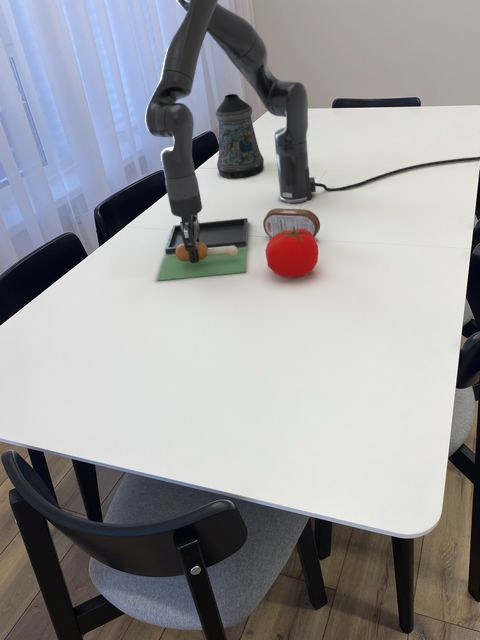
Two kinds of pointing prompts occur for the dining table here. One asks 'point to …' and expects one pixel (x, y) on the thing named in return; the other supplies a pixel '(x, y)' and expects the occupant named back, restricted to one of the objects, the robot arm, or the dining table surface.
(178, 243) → the pan
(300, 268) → the tomato
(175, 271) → the napkin
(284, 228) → the tin
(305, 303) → the dining table surface
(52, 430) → the dining table surface
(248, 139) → the beer stein
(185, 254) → the drumstick
